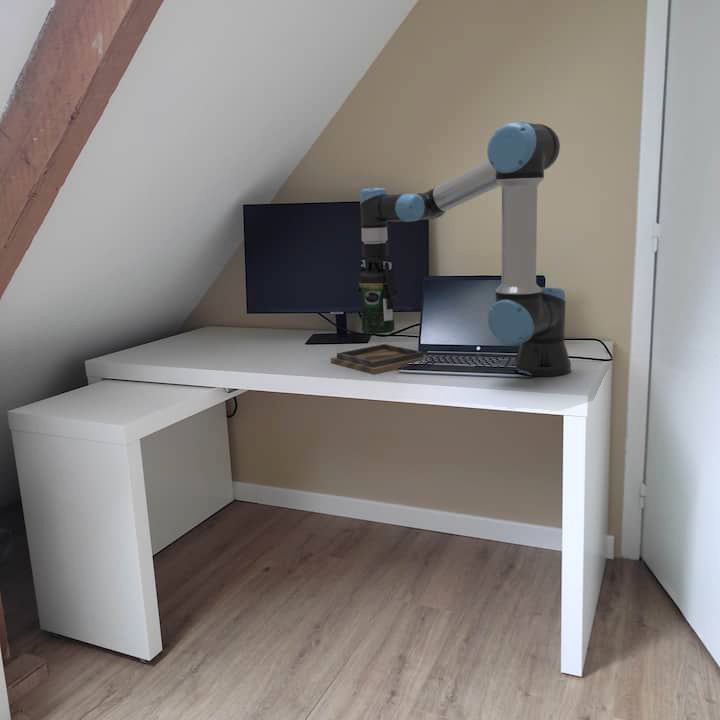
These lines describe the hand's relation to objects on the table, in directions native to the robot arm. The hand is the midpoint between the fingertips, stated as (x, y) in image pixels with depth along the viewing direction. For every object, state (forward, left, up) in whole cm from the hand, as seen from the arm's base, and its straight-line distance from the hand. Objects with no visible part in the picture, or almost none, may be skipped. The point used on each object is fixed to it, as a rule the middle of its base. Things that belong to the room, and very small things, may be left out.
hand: (377, 318), depth 218 cm
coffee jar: (0, 0, -4) cm, 4 cm away
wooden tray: (0, 0, -13) cm, 13 cm away
